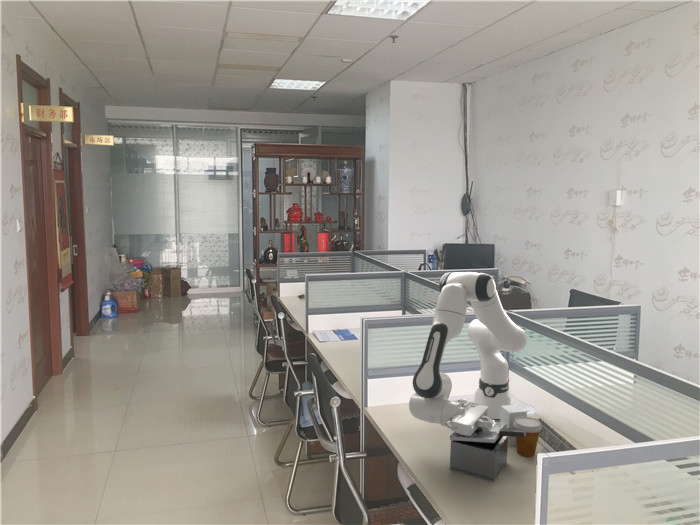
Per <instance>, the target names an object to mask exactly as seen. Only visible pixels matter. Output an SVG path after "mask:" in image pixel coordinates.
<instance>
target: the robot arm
mask: <svg viewBox="0 0 700 525" xmlns="http://www.w3.org/2000/svg"><path fill="white" fill-rule="evenodd" d="M438 289H439V290H438V291H439V296H438V298H437V301H436V305H435V310H434V314H433V320H432V325H431V328H430V332H429V335H428V338H427V342H426V345H425V349H424V353H423V356H422V359H421V363H420V365H419V367H418V369H417V370H416V372H415V373H414V375H413V378H412V388H413V390H414V392H415V393H414V394H412V395H411V396H410V397H409V403H408V407H409V412H410V414H411V416H412V417H414V418H415V419H417V420H419V421H423V422H424V423H425V422H426V423H430V424H439V425H440V426H442V427H446V428H448V429H450V430H451V431H452V432H453V433H454V432H456V433H459V434H462V435H466V436H471V435H472V434H473V432H474V431H475V430H476V429H477V428H478V427H489V428H492V427H493V426H494V425H495V422H496V420H500V408H501V406H505V405H512V404H511V401H513V400H512V398H513V397H512V396H513V395H512V394H513V393H512V392H511V391H510V390H509V388H510V378H508V376H509V363H508V361H507V359H506V358H505V357H504V356H503V355H502V354H501V351H503V352H507V353H519V352H521V351H523V350H524V348H525V347H526V345H527V334H526V332H525V330H524V329H522V328H521V327H519V326H518V325H517V324H516V323H515V322H514V321H513V320H512V319H511V318H510V316H508V314H507V313H506V312H505V310H504V308H503V306H502V303H501V300H500V297H499V294H498V291H497V282H496V280H495V278H493V276H492V275H490V274H488V273H484V272H480V273H479V272H473V271H466V272H465V271H464V272H463V271H461V272H460V271H459V272H458V271H457V272H455V271H450V272H446V273H445V272H444V274H443V275H442V276H441V278H440V279H439V282H438ZM468 302H470V304H471V307H472V310H473V312H474V313H473V314H474V316H475V319H473V320H472V321H471V322H470V323H469V324H468V327H467V335H468V339H469V340H470V341H471V342H472V343H473V345H474V346H475V348H476V350H477V353H478V356H479V360H480V362H479V363H480V375H479V376H480V378H478V379H479V380H478V388H477V389H475V392H474V399H473V400H474V401H468V400H467V399H465V398H460V399H457V400H449V397H450V394H451V391H452V387H453V386H452V385H453V384H452V380H451V378H450V376H448V374H446V373H444V372H441V370H440V368H441V364H442V361H443V357H444V351H445V349H446V346H447V344H448V342H450V341H452V339H455V338H457V337H458V336H459V335H460V334H461V332H462V330H463V328H464V324H465V321H466V320H465V319H466V314H467V306H468Z"/></svg>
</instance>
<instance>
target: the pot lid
mask: <svg viewBox="0 0 700 525" xmlns="http://www.w3.org/2000/svg"><path fill="white" fill-rule="evenodd" d="M506 427H507V423H501V422H500V421H498V422H497V421H495V425H494V426H493V427H492V428H489V427H478V428H477V429H476V430H475V431H474V432H473V434H472V435H471V436H466V435H462V434H459V433H456V432H454V431H453V432H452V433H451V435H449V441H452V440H457V441H473V442H489V443H495V441H496V440H497V439H498V437H499V436H511V437H525V435H526V429H515V428H506Z"/></svg>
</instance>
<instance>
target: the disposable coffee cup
mask: <svg viewBox="0 0 700 525" xmlns="http://www.w3.org/2000/svg"><path fill="white" fill-rule="evenodd" d="M514 427H515V429H526V435H525V437H516V445H515V446H516V448H515V449H516V450H515V451H516V454H517V455H518V456H519V457H521V458H527V459H528V458H530V459H531V458H534V457H535V456H536V453H537V452H536V451H537V447H538V446H537V445H538V442H539V437H540V431H541V430H542V427H543V426H542V424H541V422H540V420H538V419H536V418H533V417H530V416H527V417H518V418H516V419H515V422H514Z"/></svg>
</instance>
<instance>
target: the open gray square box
mask: <svg viewBox="0 0 700 525" xmlns="http://www.w3.org/2000/svg"><path fill="white" fill-rule="evenodd" d="M508 446H509V445H508V436H499V437H498V439H497V440H496V441H495V443H489V442H473V441H457V440H450V454H449V456H450V457H449V470H450V471H454V472H458V473H461V474H465V475H468V476H472V477H476V478H479V479H482V480H486V481H490V482H493V483H494V482H495V481H496V480H497V478H498V477H499V475H500V474H501V472H502V470H503V469H504V468H505V466H506V464H507V463H508V461H507V460H508Z"/></svg>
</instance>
